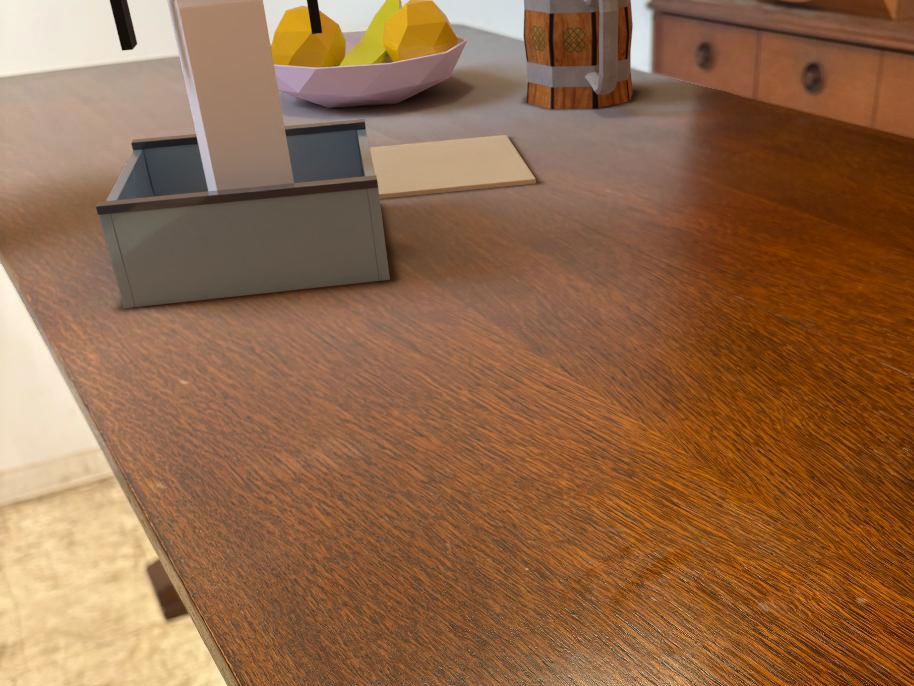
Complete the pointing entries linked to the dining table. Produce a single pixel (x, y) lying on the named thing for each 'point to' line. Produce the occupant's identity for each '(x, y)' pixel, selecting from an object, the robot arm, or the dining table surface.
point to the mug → (578, 53)
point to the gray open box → (245, 221)
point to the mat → (448, 166)
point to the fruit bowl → (365, 55)
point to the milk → (232, 92)
